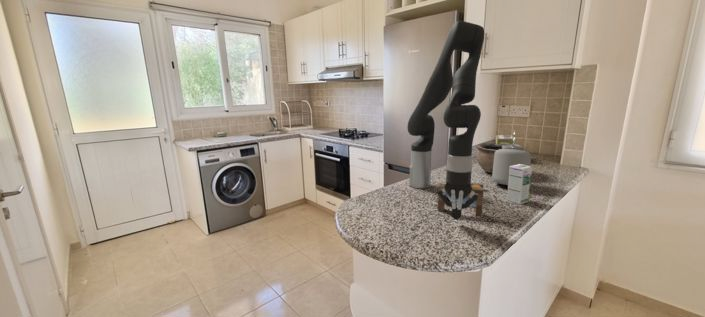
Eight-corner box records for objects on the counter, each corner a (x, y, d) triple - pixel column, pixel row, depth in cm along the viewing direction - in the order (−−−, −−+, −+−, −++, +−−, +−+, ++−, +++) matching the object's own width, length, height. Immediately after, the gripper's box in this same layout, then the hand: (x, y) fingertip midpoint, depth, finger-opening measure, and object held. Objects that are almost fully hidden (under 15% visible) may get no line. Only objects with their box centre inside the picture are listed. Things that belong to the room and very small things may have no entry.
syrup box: (520, 204, 113) (524, 168, 109) (506, 200, 118) (509, 165, 115) (529, 202, 115) (533, 166, 112) (515, 197, 120) (518, 163, 117)
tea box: (494, 156, 196) (495, 134, 193) (511, 157, 192) (513, 135, 189) (495, 161, 182) (497, 137, 179) (513, 162, 179) (515, 138, 175)
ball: (471, 190, 124) (466, 200, 121) (469, 180, 121) (464, 190, 118) (486, 193, 121) (481, 203, 117) (485, 183, 117) (480, 193, 114)
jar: (494, 177, 148) (498, 128, 143) (528, 181, 141) (533, 129, 135) (489, 188, 132) (494, 133, 127) (527, 193, 125) (533, 135, 120)
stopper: (449, 187, 136) (450, 181, 135) (450, 185, 137) (450, 180, 137) (482, 190, 130) (483, 185, 129) (483, 189, 132) (483, 183, 131)
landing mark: (442, 203, 116) (442, 202, 116) (447, 192, 129) (447, 191, 129) (480, 208, 110) (480, 207, 110) (482, 196, 123) (482, 195, 123)
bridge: (481, 216, 103) (483, 190, 101) (437, 210, 109) (438, 185, 107) (481, 213, 105) (483, 188, 103) (439, 207, 112) (440, 183, 110)
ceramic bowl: (522, 170, 160) (524, 143, 157) (519, 180, 142) (522, 150, 139) (478, 166, 172) (480, 140, 169) (471, 175, 154) (473, 147, 151)
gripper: (482, 167, 94) (478, 217, 98) (439, 164, 99) (437, 211, 103) (481, 173, 87) (477, 226, 91) (435, 169, 93) (433, 220, 97)
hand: (456, 218), depth 97 cm, fingers closed
